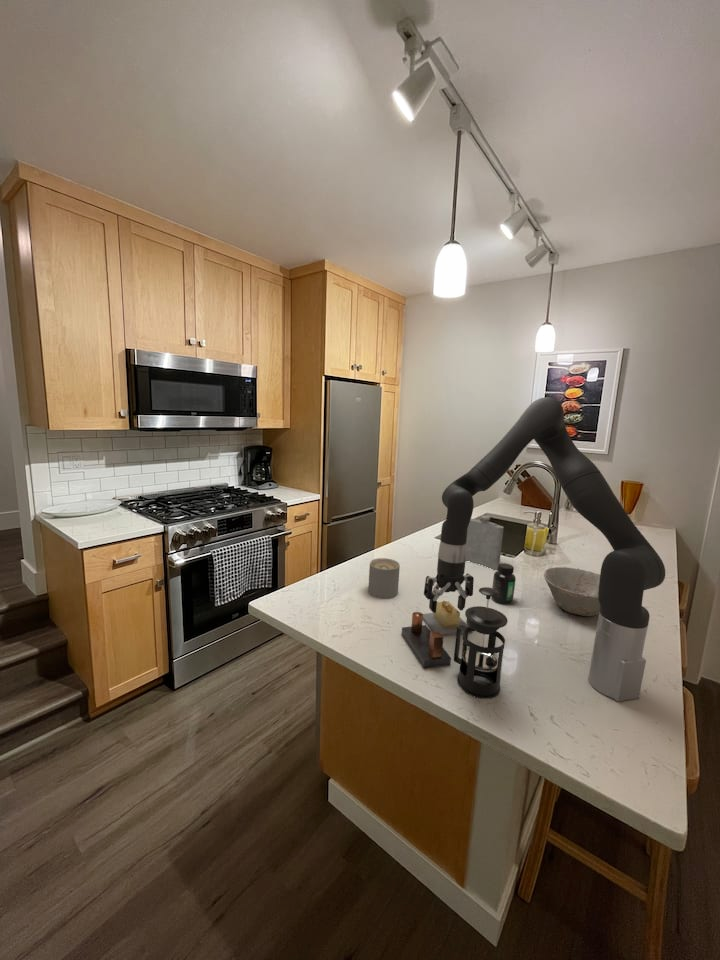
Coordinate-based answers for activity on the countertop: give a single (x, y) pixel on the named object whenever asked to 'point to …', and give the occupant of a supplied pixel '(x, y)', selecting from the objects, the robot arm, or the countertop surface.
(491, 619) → the french press
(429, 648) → the hand plane
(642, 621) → the robot arm
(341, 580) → the countertop surface
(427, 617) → the rubber mat
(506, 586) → the supplement bottle
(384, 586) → the coffee mug
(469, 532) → the notched spreader
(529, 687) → the countertop surface
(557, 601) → the ceramic bowl
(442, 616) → the lever cap
